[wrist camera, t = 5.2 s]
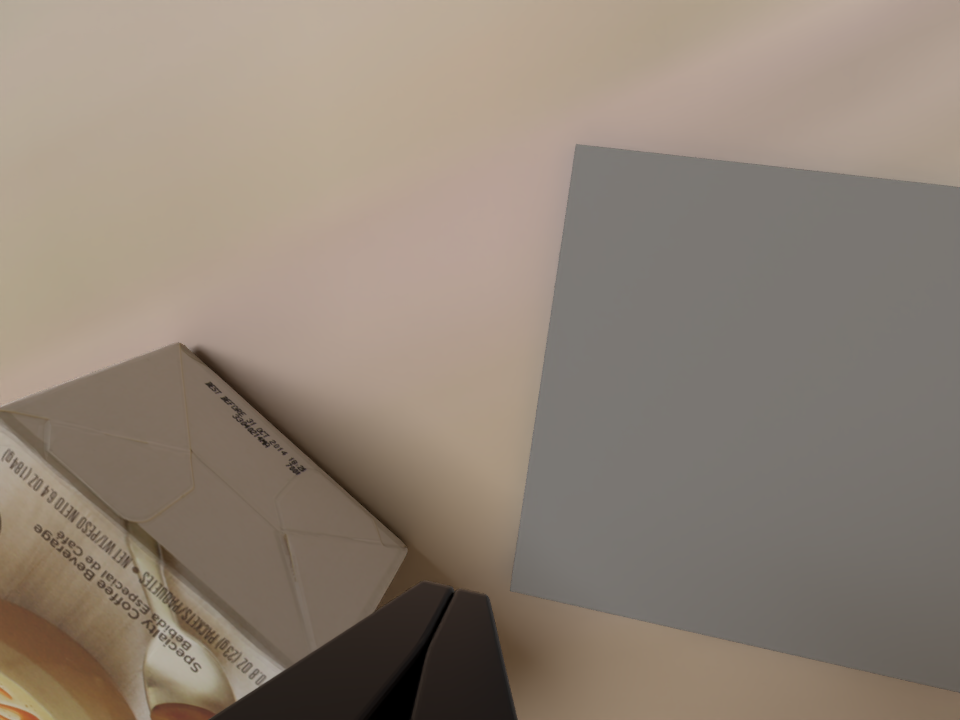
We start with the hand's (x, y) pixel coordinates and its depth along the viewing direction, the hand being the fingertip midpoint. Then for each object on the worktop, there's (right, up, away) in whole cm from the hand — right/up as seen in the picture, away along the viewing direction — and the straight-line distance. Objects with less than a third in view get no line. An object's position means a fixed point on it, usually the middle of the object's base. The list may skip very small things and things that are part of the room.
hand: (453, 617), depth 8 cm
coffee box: (-6, 0, +8) cm, 10 cm away
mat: (+8, +2, +8) cm, 11 cm away
